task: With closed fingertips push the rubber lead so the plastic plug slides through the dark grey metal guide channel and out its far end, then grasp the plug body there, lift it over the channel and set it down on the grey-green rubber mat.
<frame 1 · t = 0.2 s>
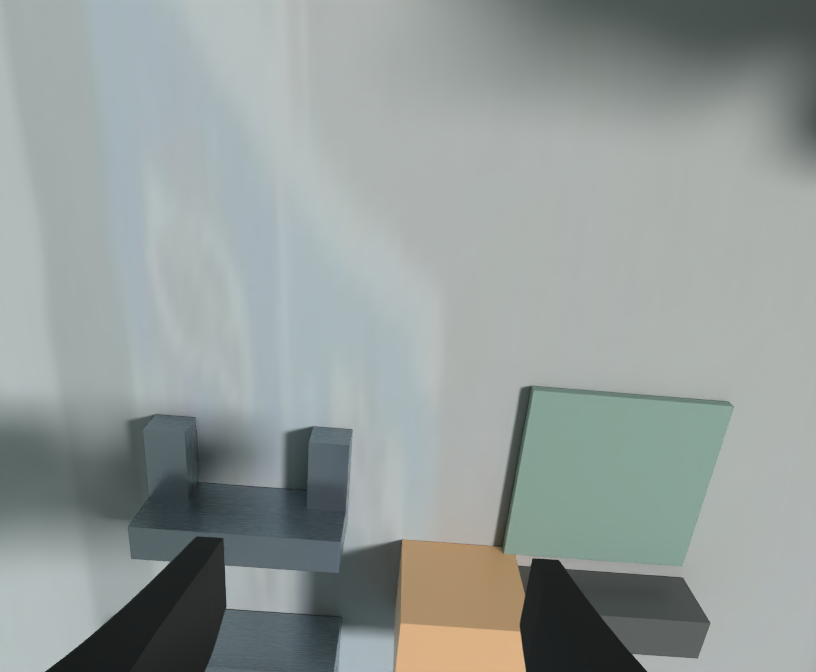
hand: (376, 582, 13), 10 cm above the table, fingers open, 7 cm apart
mat: (609, 478, 24), on the table
plug: (452, 578, 26), on the table
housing: (256, 565, 25), on the table
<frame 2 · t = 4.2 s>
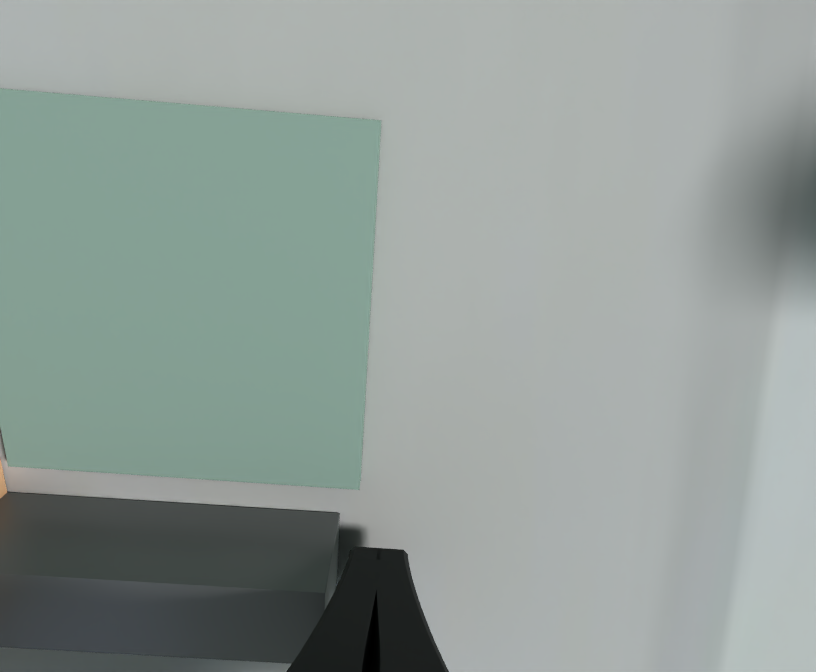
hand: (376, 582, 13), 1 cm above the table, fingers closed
mat: (180, 306, 12), on the table
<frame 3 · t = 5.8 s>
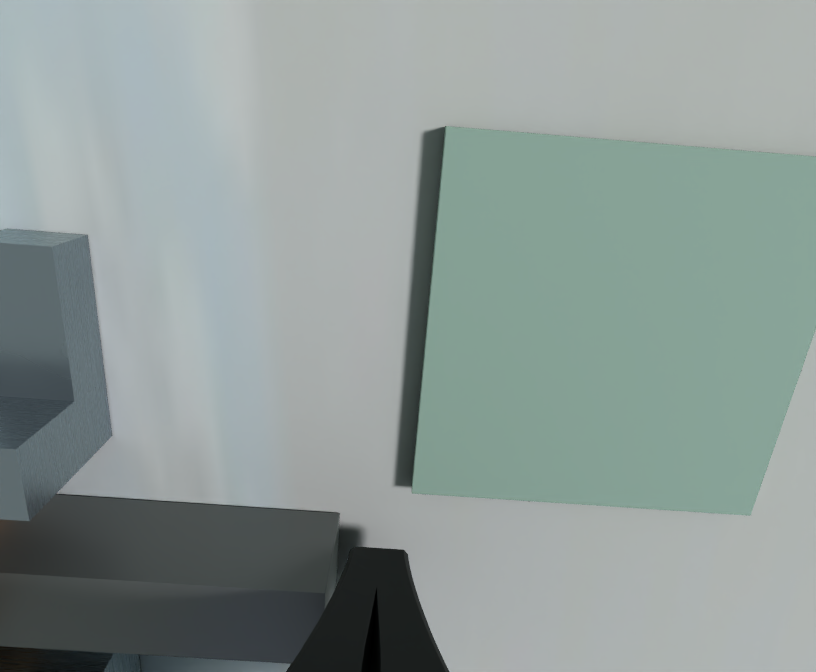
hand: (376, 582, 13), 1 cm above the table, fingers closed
mat: (611, 338, 12), on the table
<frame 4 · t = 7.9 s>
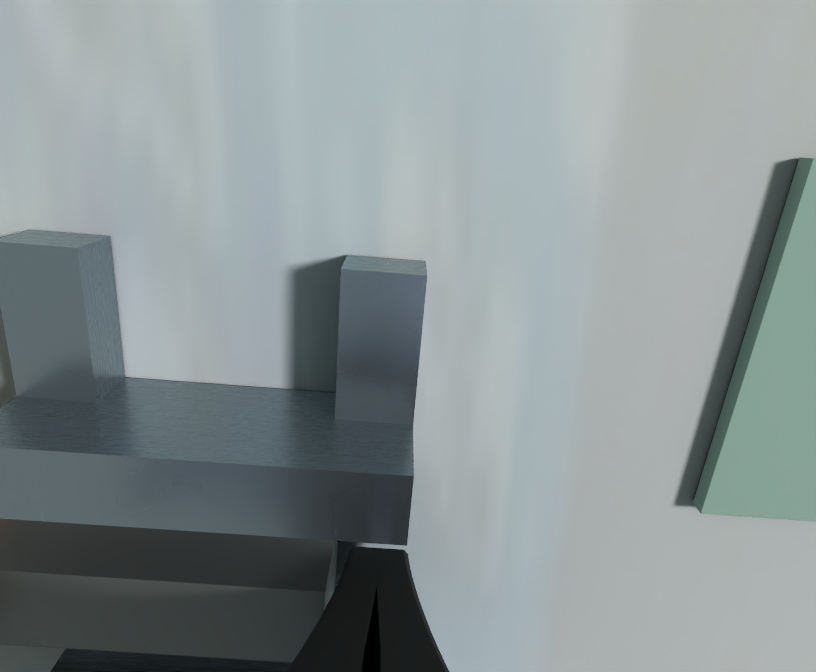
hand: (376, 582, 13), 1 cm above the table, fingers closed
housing: (238, 539, 14), on the table
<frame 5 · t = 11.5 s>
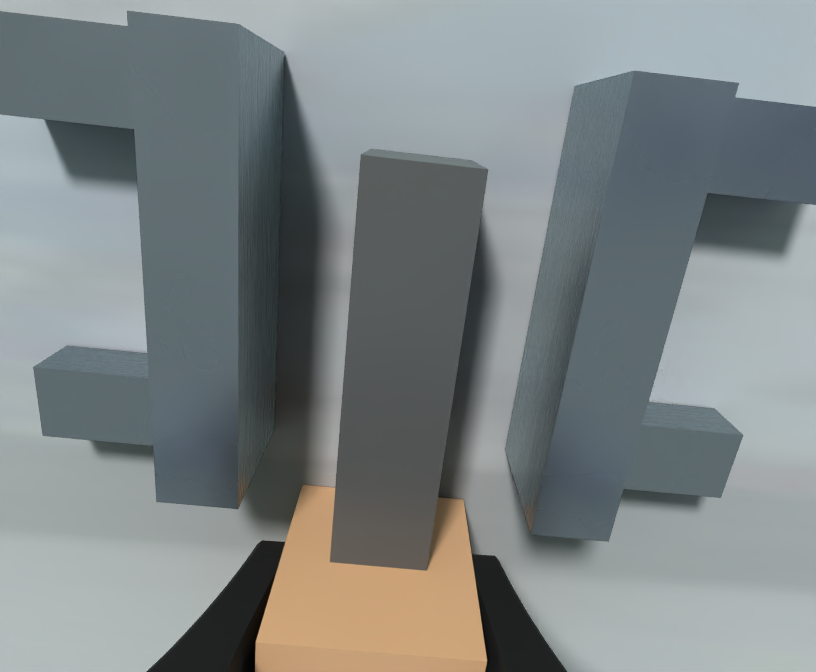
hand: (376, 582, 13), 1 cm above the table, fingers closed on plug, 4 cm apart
plug: (374, 571, 15), on the table, touching gripper
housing: (408, 275, 12), on the table
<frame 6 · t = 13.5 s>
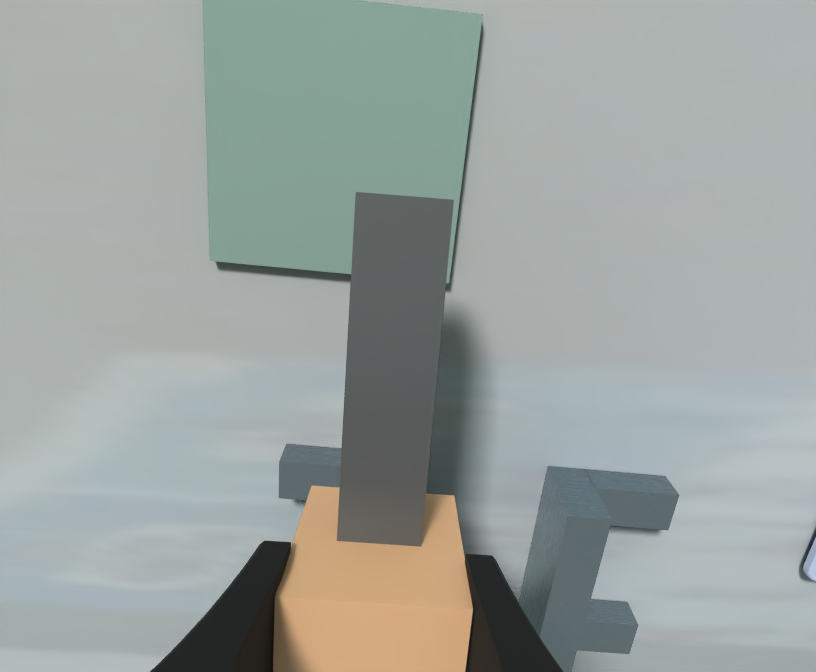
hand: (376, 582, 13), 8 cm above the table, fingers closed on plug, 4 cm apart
mat: (337, 146, 18), on the table
plug: (377, 568, 16), point 6 cm above the table, tilted 7°, touching gripper
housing: (464, 543, 23), on the table
when the fingers open (3 cm above the table, at t = 15.5 s): plug stays where it is, resting on mat.
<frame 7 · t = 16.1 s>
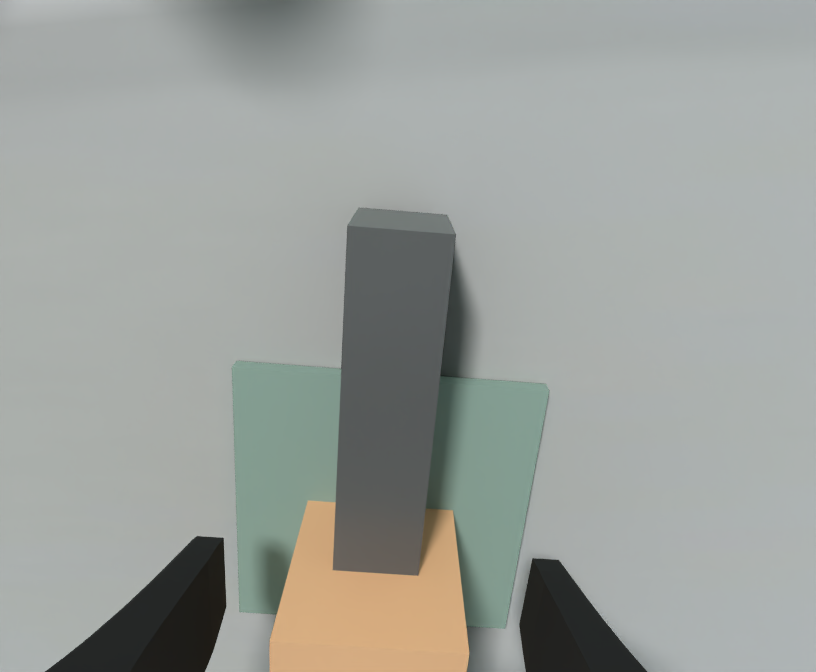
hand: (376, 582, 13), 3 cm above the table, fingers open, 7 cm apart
mat: (382, 501, 16), on the table
plug: (375, 576, 16), resting on mat
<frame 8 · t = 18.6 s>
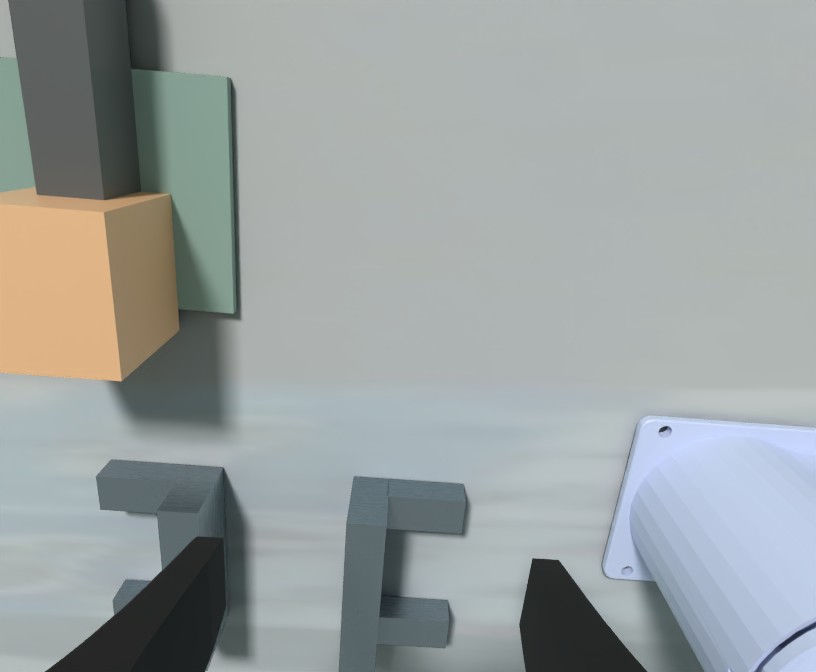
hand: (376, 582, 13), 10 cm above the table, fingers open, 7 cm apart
mat: (119, 192, 20), on the table
plug: (118, 260, 20), resting on mat
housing: (288, 548, 25), on the table
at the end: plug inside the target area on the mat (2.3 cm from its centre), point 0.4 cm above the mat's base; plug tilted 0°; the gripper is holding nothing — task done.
